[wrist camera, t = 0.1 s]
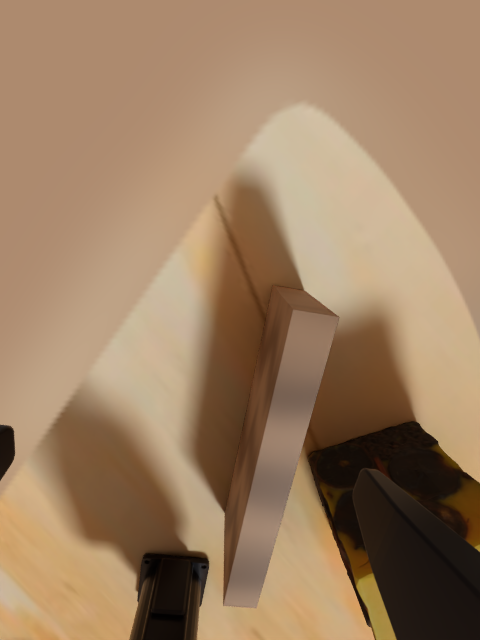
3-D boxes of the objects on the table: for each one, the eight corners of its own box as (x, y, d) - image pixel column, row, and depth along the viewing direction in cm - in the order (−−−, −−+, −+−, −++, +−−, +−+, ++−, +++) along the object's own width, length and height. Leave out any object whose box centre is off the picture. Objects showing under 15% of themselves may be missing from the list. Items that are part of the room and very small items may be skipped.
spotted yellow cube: (331, 530, 28) (383, 681, 19) (303, 451, 26) (347, 582, 16) (433, 500, 28) (540, 640, 18) (416, 416, 25) (532, 529, 15)
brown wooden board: (249, 516, 27) (256, 608, 21) (224, 513, 27) (223, 605, 20) (304, 290, 21) (339, 317, 15) (272, 285, 21) (293, 309, 14)
